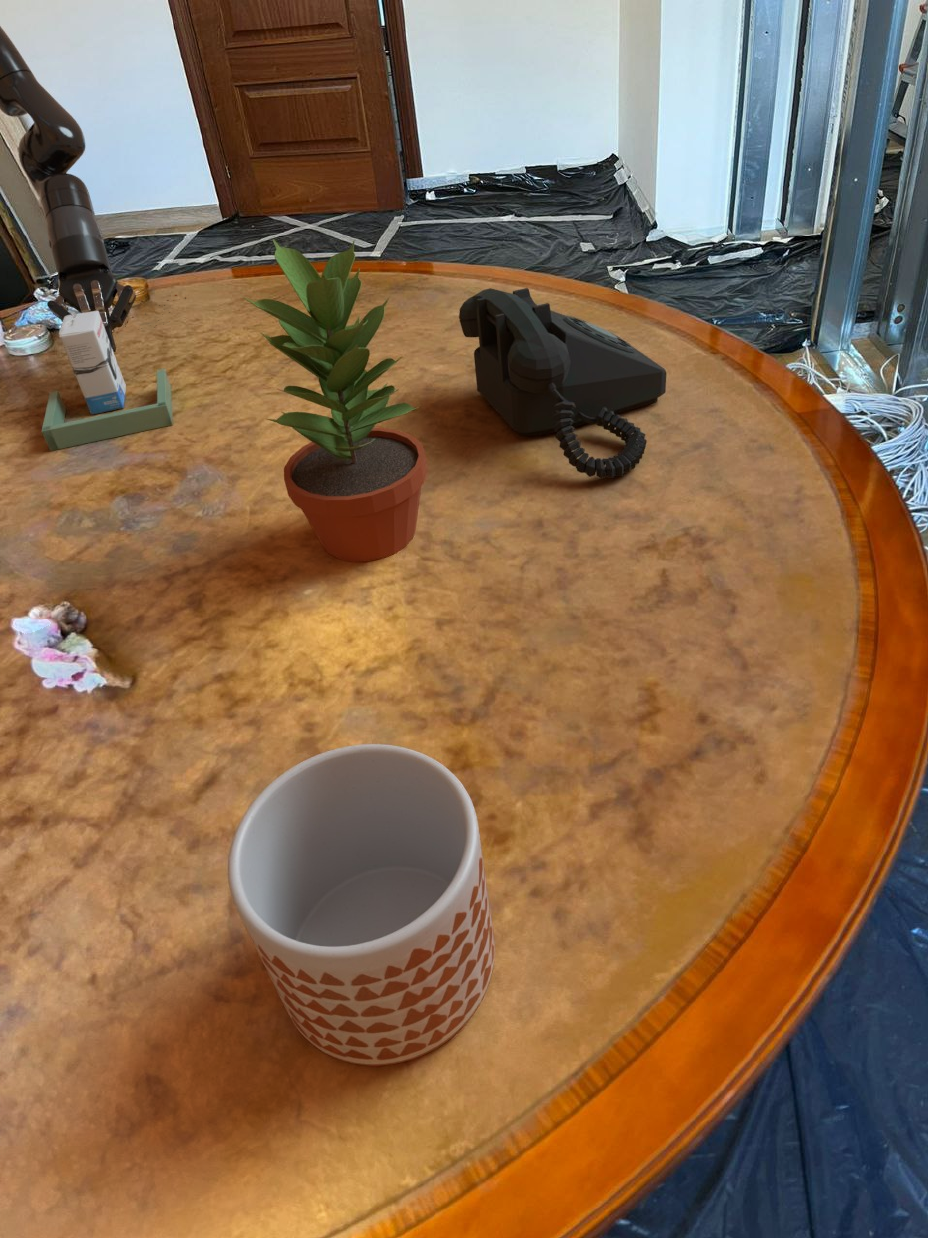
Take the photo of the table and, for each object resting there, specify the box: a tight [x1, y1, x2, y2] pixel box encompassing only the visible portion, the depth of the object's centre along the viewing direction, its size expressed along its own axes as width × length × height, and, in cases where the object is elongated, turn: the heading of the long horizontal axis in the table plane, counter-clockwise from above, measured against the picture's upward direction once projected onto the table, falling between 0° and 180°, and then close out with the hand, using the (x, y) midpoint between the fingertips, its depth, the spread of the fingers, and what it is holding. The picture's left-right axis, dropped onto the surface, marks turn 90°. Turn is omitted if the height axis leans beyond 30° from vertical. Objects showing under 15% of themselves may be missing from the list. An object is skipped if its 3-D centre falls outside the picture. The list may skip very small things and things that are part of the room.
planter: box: [227, 743, 496, 1067], centre depth 50 cm, size 14×14×13 cm
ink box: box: [58, 311, 127, 415], centre depth 122 cm, size 8×5×12 cm, turn 14°
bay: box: [40, 368, 174, 452], centre depth 120 cm, size 13×16×3 cm
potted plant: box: [243, 237, 429, 563], centre depth 82 cm, size 15×15×30 cm
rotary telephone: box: [458, 287, 667, 479], centre depth 103 cm, size 33×22×15 cm, turn 20°
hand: (106, 355), depth 127 cm, fingers closed
